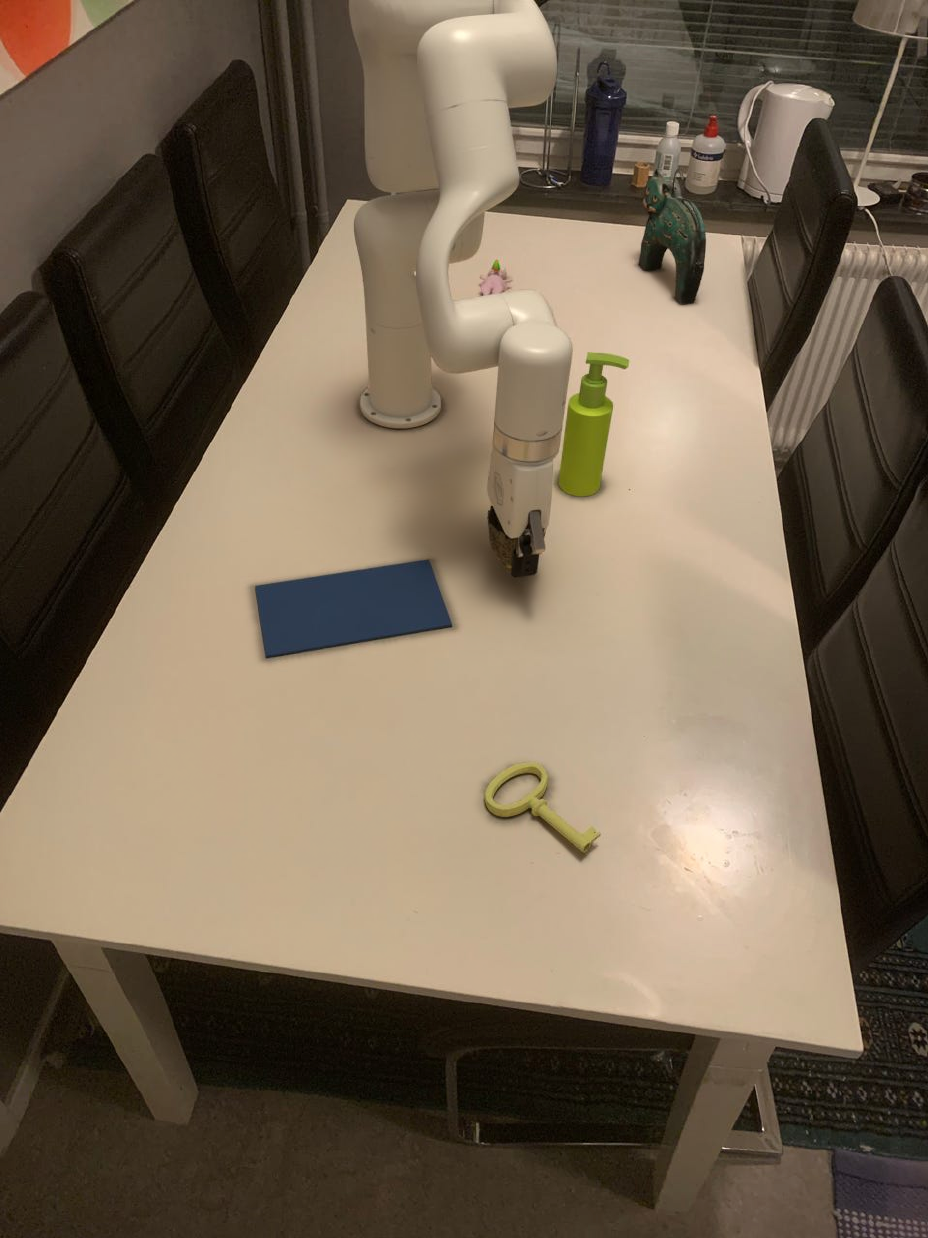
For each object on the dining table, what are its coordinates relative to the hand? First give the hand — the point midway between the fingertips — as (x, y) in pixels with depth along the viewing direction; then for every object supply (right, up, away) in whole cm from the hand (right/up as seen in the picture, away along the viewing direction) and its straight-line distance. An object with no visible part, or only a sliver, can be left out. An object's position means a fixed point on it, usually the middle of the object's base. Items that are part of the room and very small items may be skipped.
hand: (514, 553), depth 114 cm
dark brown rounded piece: (0, -1, +1) cm, 2 cm away
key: (+1, -28, -23) cm, 36 cm away
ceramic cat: (+33, +56, +62) cm, 90 cm away
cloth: (-20, -7, -3) cm, 21 cm away
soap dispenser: (+11, +11, +16) cm, 22 cm away
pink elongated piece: (-1, +52, +56) cm, 77 cm away
